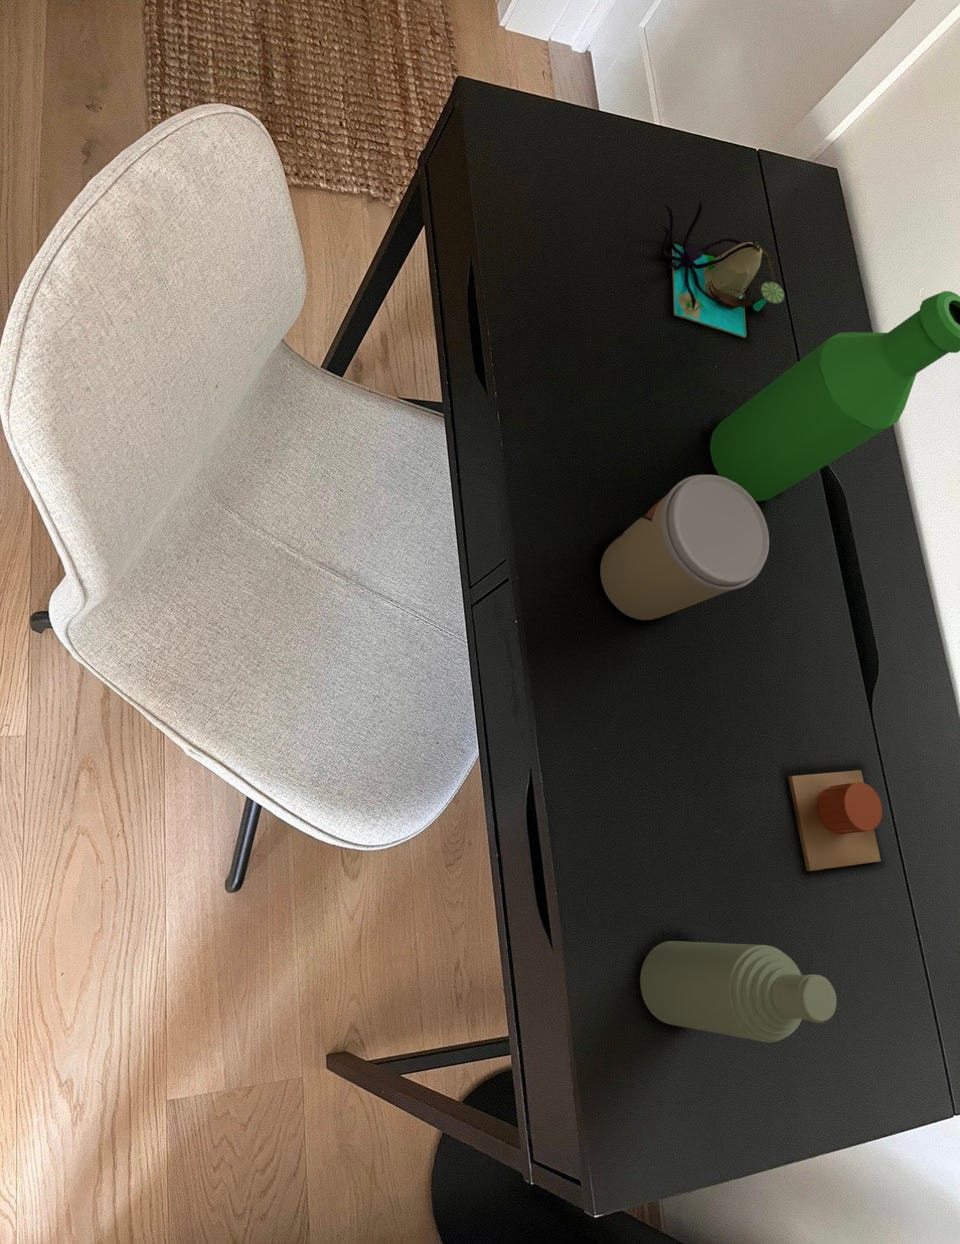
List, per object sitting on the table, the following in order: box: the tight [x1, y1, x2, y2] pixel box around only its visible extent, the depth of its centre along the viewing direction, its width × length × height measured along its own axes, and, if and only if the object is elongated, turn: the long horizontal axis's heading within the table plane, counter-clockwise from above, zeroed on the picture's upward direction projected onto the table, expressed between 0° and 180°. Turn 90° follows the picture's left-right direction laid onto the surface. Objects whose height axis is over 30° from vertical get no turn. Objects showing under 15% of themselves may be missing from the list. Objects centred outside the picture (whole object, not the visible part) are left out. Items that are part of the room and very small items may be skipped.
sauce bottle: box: [639, 940, 838, 1043], centre depth 64 cm, size 6×6×16 cm
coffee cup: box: [599, 474, 770, 621], centre depth 75 cm, size 9×9×12 cm
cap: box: [818, 782, 883, 834], centre depth 79 cm, size 4×4×3 cm
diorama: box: [660, 199, 785, 339], centre depth 92 cm, size 11×15×6 cm
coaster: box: [787, 769, 882, 872], centre depth 81 cm, size 8×8×1 cm
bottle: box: [709, 290, 960, 502], centre depth 78 cm, size 9×9×25 cm
